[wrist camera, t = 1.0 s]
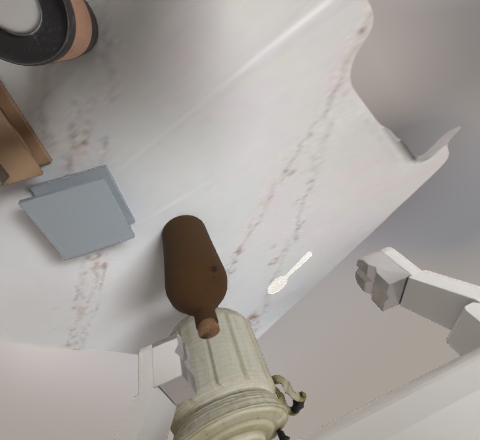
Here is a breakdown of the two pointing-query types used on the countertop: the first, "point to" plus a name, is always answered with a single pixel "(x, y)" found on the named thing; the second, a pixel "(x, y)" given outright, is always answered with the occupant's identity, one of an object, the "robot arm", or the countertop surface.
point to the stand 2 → (80, 212)
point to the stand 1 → (18, 143)
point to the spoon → (286, 276)
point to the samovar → (231, 386)
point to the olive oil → (193, 273)
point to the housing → (3, 175)
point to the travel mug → (45, 30)
